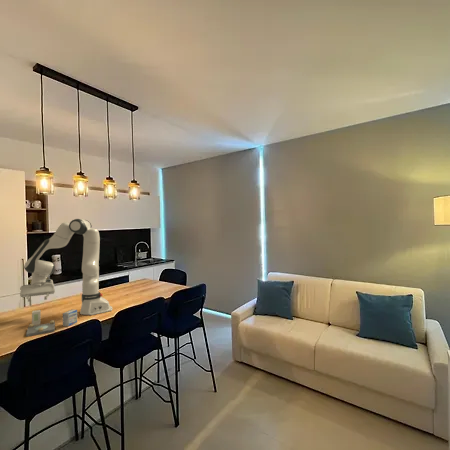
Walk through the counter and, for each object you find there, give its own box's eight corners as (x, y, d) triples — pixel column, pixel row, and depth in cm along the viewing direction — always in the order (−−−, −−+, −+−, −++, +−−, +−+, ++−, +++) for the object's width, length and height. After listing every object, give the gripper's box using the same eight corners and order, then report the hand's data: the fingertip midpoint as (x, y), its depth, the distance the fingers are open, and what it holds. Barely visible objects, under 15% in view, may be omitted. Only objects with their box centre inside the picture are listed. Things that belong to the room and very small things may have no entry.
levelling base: (54, 324, 171) (54, 319, 171) (54, 331, 159) (54, 326, 159) (28, 328, 163) (28, 324, 163) (26, 336, 151) (26, 331, 151)
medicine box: (68, 326, 167) (68, 313, 167) (62, 326, 168) (62, 313, 168) (77, 322, 175) (77, 309, 175) (71, 321, 175) (71, 309, 176)
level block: (40, 322, 175) (40, 309, 175) (40, 324, 171) (40, 311, 171) (32, 323, 172) (32, 310, 173) (31, 325, 169) (31, 312, 169)
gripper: (20, 282, 182) (18, 299, 173) (54, 279, 193) (54, 295, 184) (21, 287, 185) (19, 304, 177) (55, 284, 196) (54, 300, 188)
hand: (37, 300), depth 181 cm, fingers open, 8 cm apart
